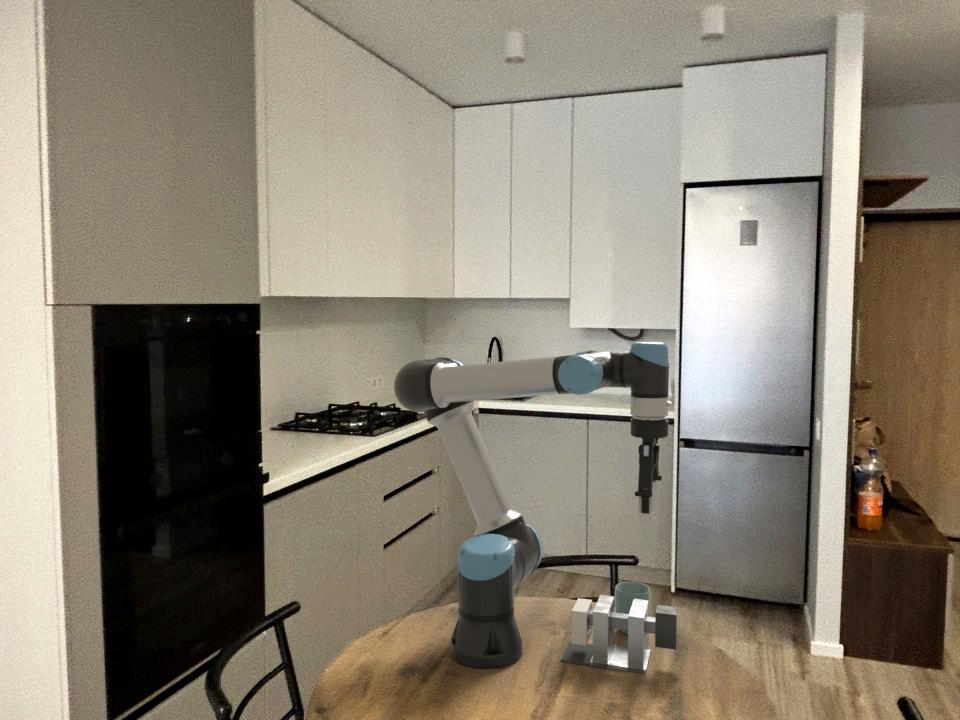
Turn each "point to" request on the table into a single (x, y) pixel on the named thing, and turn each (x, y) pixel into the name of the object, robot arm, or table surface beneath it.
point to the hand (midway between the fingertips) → (648, 519)
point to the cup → (630, 597)
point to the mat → (578, 654)
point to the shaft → (650, 625)
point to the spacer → (581, 622)
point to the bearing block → (603, 638)
